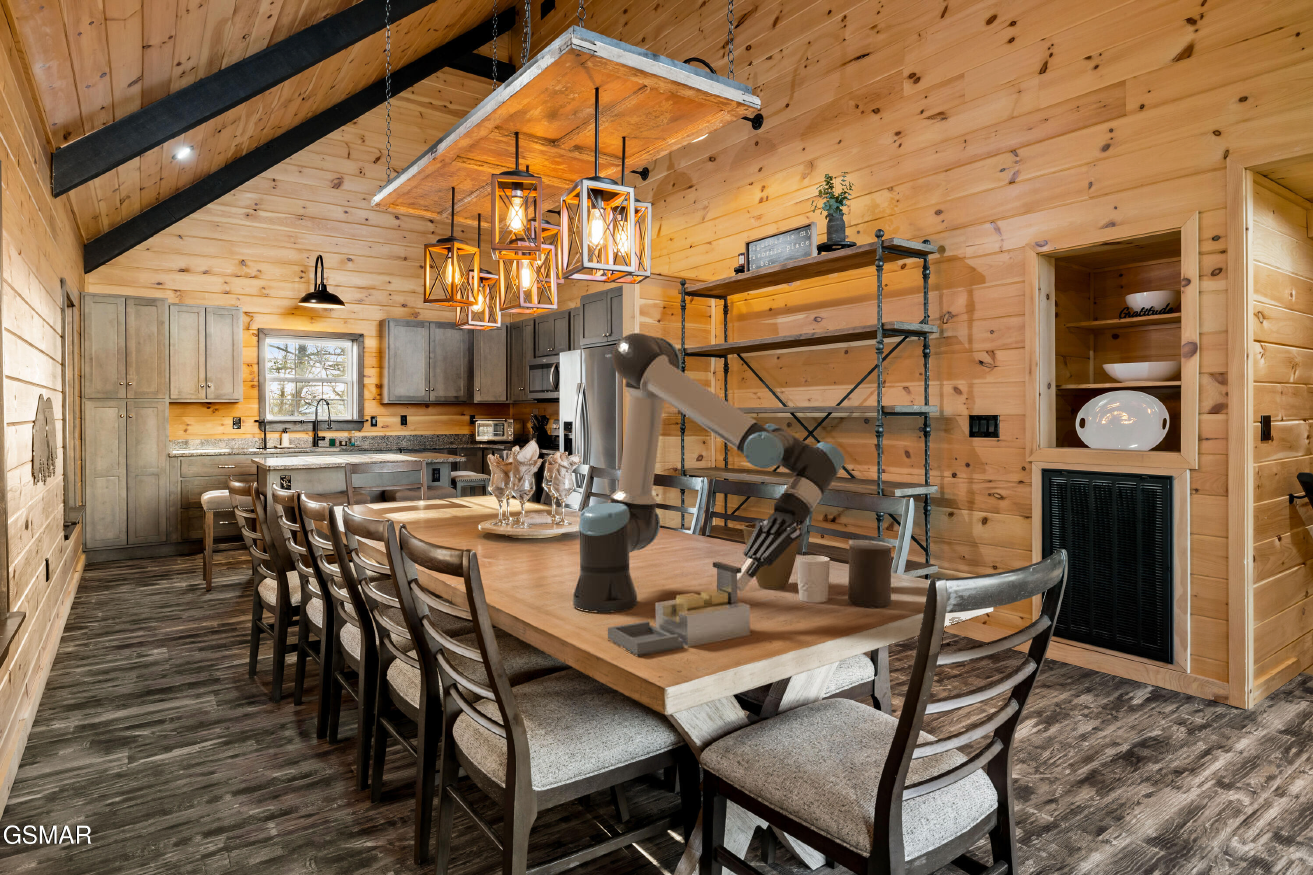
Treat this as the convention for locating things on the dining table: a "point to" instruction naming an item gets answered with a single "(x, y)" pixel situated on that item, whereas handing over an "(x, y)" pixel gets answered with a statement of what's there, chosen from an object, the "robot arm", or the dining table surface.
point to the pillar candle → (869, 574)
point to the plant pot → (774, 564)
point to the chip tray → (643, 638)
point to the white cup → (813, 578)
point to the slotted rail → (704, 622)
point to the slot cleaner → (727, 580)
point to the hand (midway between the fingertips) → (736, 586)
